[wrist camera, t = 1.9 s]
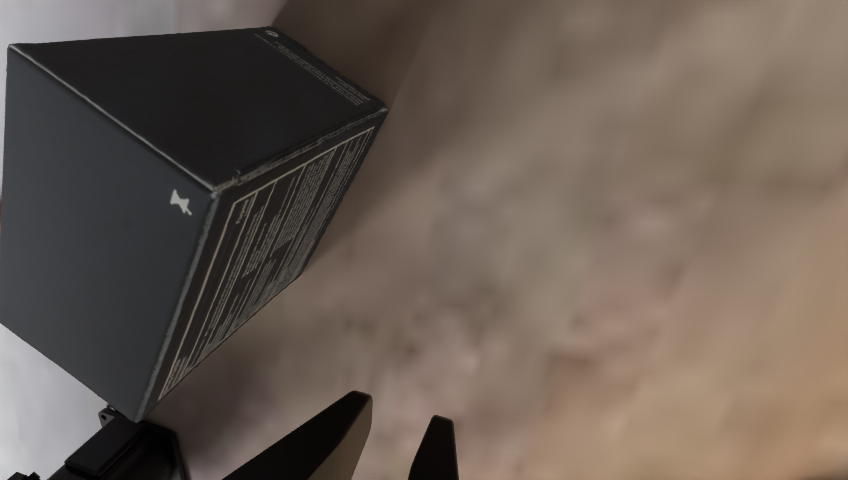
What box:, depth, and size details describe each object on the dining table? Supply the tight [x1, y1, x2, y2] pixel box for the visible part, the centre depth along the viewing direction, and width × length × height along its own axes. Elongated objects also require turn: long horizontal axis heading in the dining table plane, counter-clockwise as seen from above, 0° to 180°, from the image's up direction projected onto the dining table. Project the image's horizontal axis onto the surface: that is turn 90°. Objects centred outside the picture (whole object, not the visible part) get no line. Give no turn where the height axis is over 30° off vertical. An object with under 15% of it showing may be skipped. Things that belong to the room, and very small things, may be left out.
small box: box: [0, 26, 388, 423], centre depth 18 cm, size 11×6×10 cm, turn 150°
